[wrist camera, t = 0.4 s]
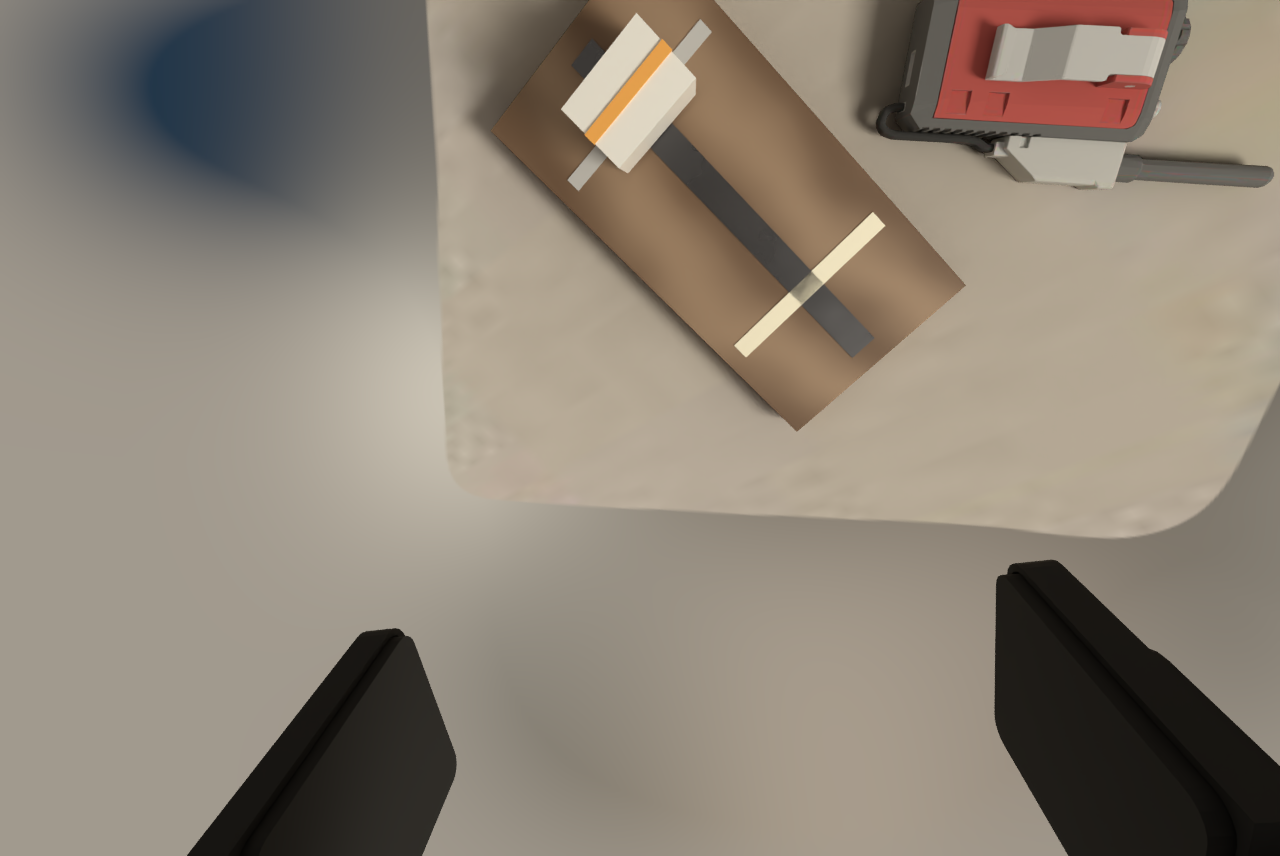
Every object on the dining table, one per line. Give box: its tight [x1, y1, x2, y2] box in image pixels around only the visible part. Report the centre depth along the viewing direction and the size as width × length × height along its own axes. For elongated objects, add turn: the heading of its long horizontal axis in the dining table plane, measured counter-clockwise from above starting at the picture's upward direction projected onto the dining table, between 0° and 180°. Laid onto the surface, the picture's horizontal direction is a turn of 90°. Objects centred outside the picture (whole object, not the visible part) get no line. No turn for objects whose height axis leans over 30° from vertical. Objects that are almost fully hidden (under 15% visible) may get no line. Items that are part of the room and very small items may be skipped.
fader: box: [561, 13, 696, 173], centre depth 29 cm, size 5×4×4 cm
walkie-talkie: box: [876, 0, 1274, 190], centre depth 29 cm, size 9×4×20 cm
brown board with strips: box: [491, 0, 966, 431], centre depth 33 cm, size 12×24×2 cm, turn 47°
